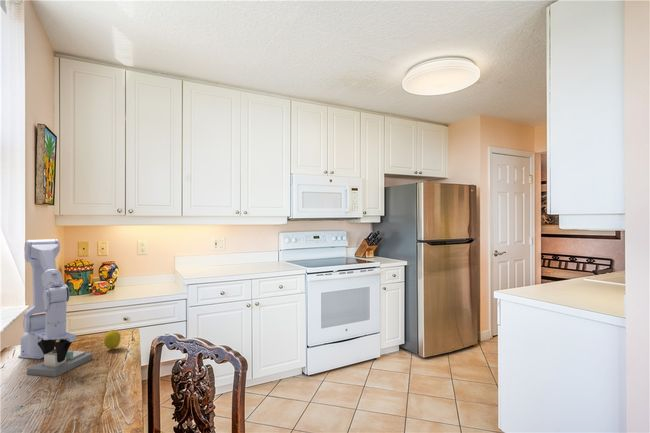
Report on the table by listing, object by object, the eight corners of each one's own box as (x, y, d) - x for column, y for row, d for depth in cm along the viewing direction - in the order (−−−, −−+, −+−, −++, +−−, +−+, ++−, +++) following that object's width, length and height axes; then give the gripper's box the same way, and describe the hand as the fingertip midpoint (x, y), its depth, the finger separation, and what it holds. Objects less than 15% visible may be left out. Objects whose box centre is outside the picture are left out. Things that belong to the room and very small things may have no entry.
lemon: (114, 352, 134) (115, 332, 134) (100, 352, 134) (101, 331, 134) (123, 347, 140) (123, 327, 140) (109, 347, 140) (110, 327, 140)
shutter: (56, 358, 123) (56, 351, 123) (71, 352, 129) (71, 345, 129) (71, 359, 122) (71, 352, 122) (85, 353, 128) (85, 346, 128)
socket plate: (26, 374, 115) (27, 368, 115) (66, 356, 130) (66, 351, 130) (55, 376, 113) (55, 370, 113) (92, 358, 128) (92, 353, 128)
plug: (55, 363, 121) (55, 346, 121) (65, 364, 121) (66, 347, 121) (44, 369, 117) (44, 351, 117) (54, 370, 117) (55, 352, 117)
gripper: (26, 323, 116) (25, 363, 116) (63, 326, 114) (63, 367, 114) (46, 317, 123) (45, 355, 123) (81, 320, 121) (81, 358, 121)
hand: (55, 360), depth 119 cm, fingers closed on plug, 4 cm apart
